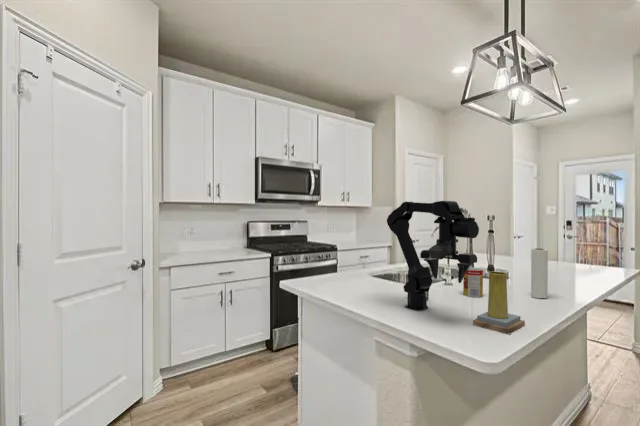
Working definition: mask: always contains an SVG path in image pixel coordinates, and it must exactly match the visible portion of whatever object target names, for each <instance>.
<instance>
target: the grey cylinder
mask: <svg viewBox="0 0 640 426" xmlns="http://www.w3.org/2000/svg"><path fill="white" fill-rule="evenodd" d="M530 252H531V253H530V254H531V256H530V257H531V258H530V260H531V261H530V262H531V264H530V265H531V269H530V274H531V275H530V278H531V279H530V280H531V281H530V295H531V296H530V297H532V298H534V299H540V298H546V299H548V297H549V296H548V290H549V289H548V287H549V286H548V285H549V284H548V280H549V278H548V275H549V274H548V271H549V269H548V268H549V267H548V265H549V264H548V263H549V262H548V261H549V260H548V259H549V258H548V257H549V255H548V254H549V253H548V252H549V250H548V249H546V248H537V247H535V248H531V251H530Z"/></svg>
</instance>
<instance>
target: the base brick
mask: <svg viewBox="0 0 640 426" xmlns="http://www.w3.org/2000/svg"><path fill="white" fill-rule="evenodd" d="M525 325H526V321H525V320H524V319H523V320H522V319H520V321H519V322H517V323H515V324H513V325H511V326H509V327H507V328H505V327H501V326H497V325H493V324H489V323H486V322H482V321H478V320H477V318H475V319H472V326H476V327H481V328H484V329H487V330H491V331H496V332H498V333H502V334H506V335H509V334H511V333H513V332H515V331H517V330H519V329H521V328H522V327H525Z"/></svg>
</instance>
